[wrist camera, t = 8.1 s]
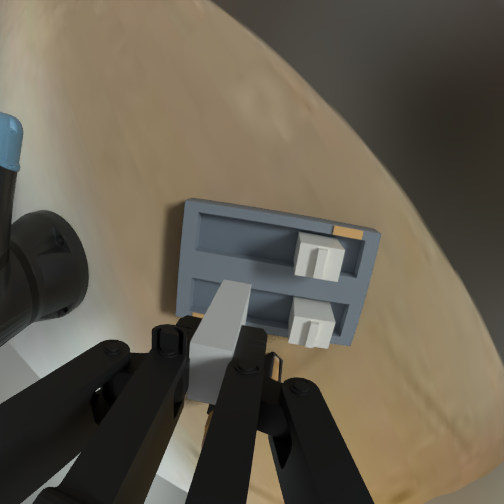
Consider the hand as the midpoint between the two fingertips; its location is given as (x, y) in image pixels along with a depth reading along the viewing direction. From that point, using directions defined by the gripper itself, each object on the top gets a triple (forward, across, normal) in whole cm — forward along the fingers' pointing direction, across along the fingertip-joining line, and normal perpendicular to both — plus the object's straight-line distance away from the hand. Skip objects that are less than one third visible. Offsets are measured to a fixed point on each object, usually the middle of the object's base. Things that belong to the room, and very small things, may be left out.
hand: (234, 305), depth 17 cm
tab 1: (+17, +6, 0) cm, 18 cm away
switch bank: (+18, +2, -4) cm, 18 cm away
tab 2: (+17, +7, -7) cm, 19 cm away
